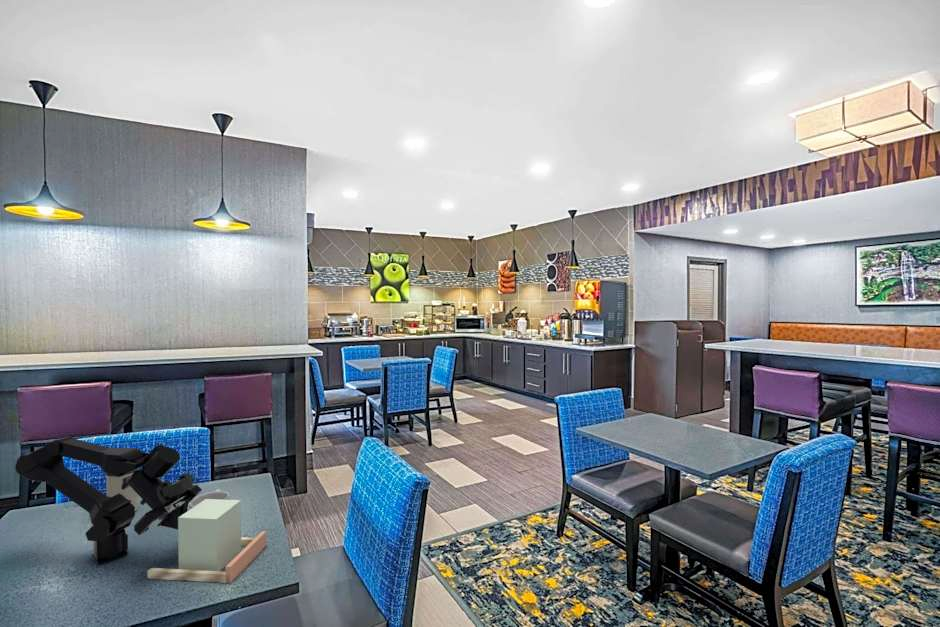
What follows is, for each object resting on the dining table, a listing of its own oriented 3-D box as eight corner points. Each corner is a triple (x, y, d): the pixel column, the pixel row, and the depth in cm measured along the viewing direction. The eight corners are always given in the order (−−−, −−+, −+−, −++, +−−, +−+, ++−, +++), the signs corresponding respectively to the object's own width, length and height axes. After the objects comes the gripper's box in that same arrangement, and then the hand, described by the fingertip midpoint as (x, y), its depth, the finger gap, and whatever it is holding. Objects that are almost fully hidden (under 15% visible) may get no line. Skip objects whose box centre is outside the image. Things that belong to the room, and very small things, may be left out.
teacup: (217, 532, 138) (217, 505, 138) (181, 531, 138) (180, 504, 138) (241, 510, 152) (241, 486, 152) (208, 510, 152) (208, 486, 152)
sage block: (178, 572, 118) (178, 517, 117) (206, 549, 129) (205, 498, 128) (216, 574, 117) (216, 519, 117) (241, 550, 128) (240, 500, 128)
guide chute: (147, 578, 115) (147, 562, 115) (194, 542, 132) (193, 528, 132) (230, 582, 113) (230, 566, 113) (266, 545, 131) (266, 531, 131)
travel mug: (101, 519, 145) (100, 462, 145) (113, 508, 153) (113, 453, 152) (131, 516, 147) (130, 460, 147) (141, 505, 155) (141, 451, 154)
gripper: (144, 481, 114) (188, 527, 113) (194, 455, 132) (232, 495, 132) (114, 512, 114) (158, 558, 114) (168, 482, 133) (206, 522, 133)
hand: (191, 531), depth 123 cm, fingers closed, pressing on sage block
